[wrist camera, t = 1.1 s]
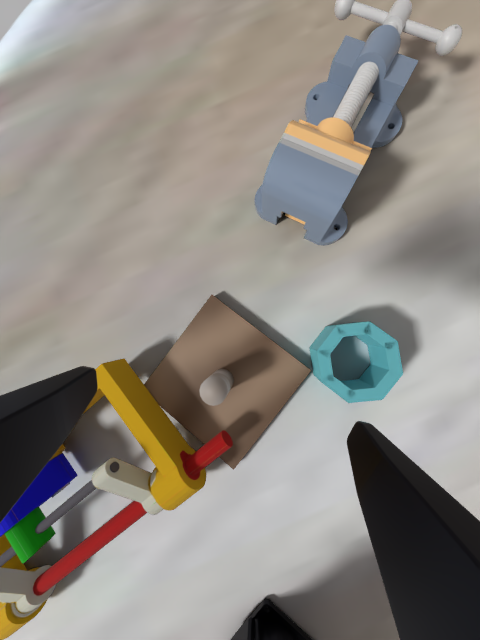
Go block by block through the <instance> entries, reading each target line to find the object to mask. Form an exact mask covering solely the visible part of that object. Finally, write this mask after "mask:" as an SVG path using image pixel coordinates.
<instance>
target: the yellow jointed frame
mask: <svg viewBox="0 0 480 640" xmlns="http://www.w3.org/2000/svg"><path fill="white" fill-rule="evenodd" d="M95 370H96V373H97V385H98V388H97V392H96V394H95V396H94V397H93V399H92V401H91V402H90V404H89V405H88V407H87V408H86V410H85V411H84V413H85V412H86V411H87V410H88V409H89V408H90V407H92V406H93V405H94V404H95V403H96V402H97V401H98V400H100V399H101V398H102V397H103V396H104V395H105V396H106V397H107V399H108V400H109V402H110V403H111V404H112V406H113V407H114V409H115V410H116V411H117V413H118V414H119V416H120V417H121V418H122V420H123V421H124V423H125V424H126V425H127V427H128V428H129V430H130V431H131V432H132V434H133V435H134V437H135V438H136V439H137V441H138V442H139V443H140V445H141V446H142V448H143V449H144V450H145V452H146V453H147V455H148V456H149V457H150V459H151V460H152V462H153V463H154V464H155V466H156V468H154V470H153V472H152V473H150V472H147V471H145V470H143V469H140V468H138V467H136V466H133V465H131V464H128V463H126V462H124V461H121V460H119V459H117V458H111V459H109V460H108V461H106V462H105V463H104V464H103V465H102V466H100V467H99V468H98V469H97V470H96V471H95V472H94V473H93V475H92V480H91V481H90V482H89V483H87V484H86V485H85V486H84V487H83V488H81V489H80V490H79V491H78V492H76V493H75V494H74V495H73V496H72V497H70V498H69V499H68V500H67V501H66V502H64V503H63V504H62V505H61V506H60V507H58V508H57V509H56V510H55V511H54V512H52V513H51V514H50V515H49V516H48V517H45V516H44V514H43V513H42V511H41V509H40V508H39V506H40V505H42V504H43V503H44V502H45V501H47V500H48V499H49V498H50V497H52V498H53V497H54V496H55V495H56V494H58V493H59V492H60V491H61V490H63V489H64V488H65V487H66V486H68V485H69V484H70V481H72V480H73V479H74V478H75V477H76V476H77V474H76V472H75V471H74V469H73V468H72V466H71V465H70V463H69V462H68V460H67V459H66V457H65V456H64V454H63V453H62V452H63V451H64V450H65V447H64V445H63V444H62V445H61V446H60V448H59V449H58V450H57V451H56V453H55V454H54V455H53V457H52V458H51V459H50V460H49V462H48V463H47V464H46V465H45V467H44V468H43V469H42V470H41V472H40V473H39V474H38V476H37V477H36V478H35V479H34V481H33V482H32V483H31V484H30V486H29V487H28V488H27V489H26V491H25V492H24V493H23V495H22V496H21V497H20V498H19V500H18V501H17V502H16V503H15V505H14V506H13V507H12V509H11V510H10V511H9V512H8V514H7V515H6V516H5V517H4V519H3V520H2V521H1V522H0V640H3V639H5V638H7V637H9V636H10V635H12V634H13V633H14V632H16V631H17V630H18V629H20V628H21V627H22V626H23V625H25V624H26V623H27V622H29V621H30V620H31V619H33V618H34V617H35V616H36V615H37V614H38V613H39V612H40V611H41V609H42V608H43V606H44V605H45V603H46V601H47V599H48V598H49V597H50V596H51V594H52V592H53V591H54V589H55V586H56V583H58V582H59V581H60V580H62V579H63V578H64V577H65V576H67V575H68V574H69V573H71V572H72V571H73V570H74V569H76V568H77V567H78V566H80V565H81V564H82V563H83V562H85V561H86V560H87V559H88V558H90V557H91V556H92V555H94V554H95V553H96V552H97V551H99V550H100V549H101V548H103V547H104V546H105V545H106V544H108V543H109V542H110V541H112V540H113V539H114V538H115V537H117V536H118V535H119V534H120V533H122V532H123V531H124V530H126V529H127V528H128V527H129V526H131V525H132V524H133V523H135V522H136V521H137V520H138V519H140V518H141V517H142V516H144V515H145V514H146V513H149V514H151V515H155V514H158V513H159V512H160V511H162V510H163V509H165V510H174V509H175V508H177V507H178V506H179V505H180V504H182V503H183V502H184V501H186V500H187V499H188V498H190V497H191V496H192V495H193V494H195V493H196V492H197V491H199V490H200V489H201V488H202V487H203V486H204V484H205V481H206V471H205V467H206V466H207V465H209V464H210V463H211V462H213V461H214V460H215V459H216V458H218V457H219V456H220V455H222V454H223V453H224V452H225V451H227V450H228V449H229V448H231V447H232V445H233V442H232V439H231V437H230V435H229V434H228V433H227V432H226V431H225V430H222V431H221V432H220V433H219V434H217V435H216V436H215V437H213V438H212V439H211V440H210V441H208V442H207V443H206V444H205V445H203V446H202V447H201V448H200V449H198V450H197V451H195V450H194V449H193V448H191V447H190V446H189V445H188V443H187V442H186V441H185V439H184V438H183V437H182V435H181V434H180V433H179V431H178V430H177V429H176V427H175V426H174V425H173V423H172V422H171V421H170V419H169V418H168V417H167V415H166V414H165V413H164V411H163V410H162V409H161V407H160V406H159V405H158V403H157V402H156V401H155V399H154V398H153V396H152V395H151V394H150V392H149V391H148V390H147V388H146V387H145V386H144V384H143V383H142V382H141V380H140V379H139V378H138V376H137V375H136V374H135V372H134V371H133V370H132V368H131V367H130V366H129V364H128V363H127V362H126V360H125V359H120V360H116V361H111V362H107V363H103V364H101V365H100V366H99V367H98V368H97V369H95ZM84 413H83V414H84ZM96 488H98V489H101V490H104V491H107V492H110V493H113V494H116V495H119V496H122V497H125V498H128V499H131V500H134V501H133V502H132V503H131V504H129V505H128V506H127V507H125V508H124V509H123V510H122V511H120V512H119V513H118V514H117V515H115V516H114V517H113V518H112V519H110V520H109V521H108V522H107V523H105V524H104V525H103V526H102V527H100V528H99V529H98V530H97V531H95V532H94V533H93V534H92V535H90V536H89V537H88V538H87V539H85V540H84V541H83V542H81V543H80V544H79V545H78V546H76V547H75V548H74V549H73V550H71V551H70V552H69V553H68V554H66V555H65V556H64V557H63V558H61V559H60V560H59V561H58V562H56V563H55V564H54V565H53V566H51V565H45V566H42V567H40V568H39V567H36V568H33V569H30V570H28V571H27V569H26V567H25V566H24V564H23V563H24V562H26V561H27V560H28V559H29V558H30V557H31V556H33V555H34V554H35V553H36V552H37V551H38V550H39V549H40V548H41V547H42V546H43V545H45V544H46V543H47V542H48V541H49V540H50V539H51V538H52V537H53V536H54V535H55V531H54V530H53V528H52V527H51V525H52V524H53V523H55V522H56V521H57V520H58V519H60V518H61V517H62V516H63V515H64V514H66V513H67V512H68V511H69V510H70V509H72V508H73V507H74V506H75V505H77V504H78V503H79V502H80V501H81V500H83V499H84V498H85V497H86V496H87V495H89V494H90V493H91V492H92V491H94V490H95V489H96Z"/></svg>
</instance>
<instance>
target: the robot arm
mask: <svg viewBox="0 0 480 640" xmlns="http://www.w3.org/2000/svg"><path fill="white" fill-rule="evenodd" d="M97 388H98V385H97V373H96V370H95V369H94V368H91V367H86V366H81V367H78V368H75V369H72V370H69V371H67V372H64V373H61V374H59V375H56V376H53V377H50V378H48V379H45V380H42V381H39V382H37V383H34V384H31V385H28V386H26V387H23V388H20V389H17V390H15V391H12V392H9V393H6V394H4V395H1V396H0V522H1V521H2V520H3V519H4V517H5V516H6V515H7V514H8V512H9V511H10V510H11V509H12V507H13V506H14V505H15V503H16V502H17V501H18V500H19V498H20V497H21V496H22V495H23V493H24V492H25V491H26V489H27V488H28V487H29V486H30V484H31V483H32V482H33V481H34V479H35V478H36V477H37V476H38V474H39V473H40V472H41V470H42V469H43V468H44V467H45V465H46V464H47V463H48V462H49V460H50V459H51V458H52V457H53V455H54V454H55V453H56V451H57V450H58V449H59V448H60V446H61V445H62V444H63V442H64V441H65V440H66V438H67V437H68V436H69V434H70V433H71V431H72V430H73V428H74V427H75V425H76V424H77V422H78V421H79V419H80V418H81V416H82V414H83V413H84V411H85V410H86V408H87V407H88V405H89V404H90V402H91V401H92V399H93V397H94V396H95V394H96V392H97ZM347 446H348V451H349V456H350V461H351V466H352V471H353V476H354V481H355V486H356V490H357V495H358V498H359V502H360V505H361V509H362V512H363V515H364V519H365V522H366V526H367V529H368V532H369V536H370V539H371V542H372V546H373V549H374V553H375V556H376V559H377V563H378V566H379V569H380V573H381V576H382V579H383V583H384V586H385V590H386V593H387V596H388V600H389V603H390V606H391V610H392V613H393V617H394V620H395V623H396V627H397V630H398V633H399V637H400V640H480V521H479V520H478V519H477V518H476V517H474V516H473V515H472V514H471V513H470V512H469V511H468V510H467V509H466V508H464V507H463V506H462V505H461V504H460V503H459V502H458V501H457V500H455V499H454V498H453V497H452V496H451V495H450V494H449V493H448V492H447V491H445V490H444V489H443V488H442V487H441V486H440V485H439V484H438V483H436V482H435V481H434V480H433V479H432V478H431V477H430V476H429V475H428V474H426V473H425V472H424V471H423V470H422V469H421V468H420V467H419V466H417V465H416V464H415V463H414V462H413V461H412V460H411V459H410V458H409V457H407V456H406V455H405V454H404V453H403V452H402V451H401V450H400V449H398V448H397V447H396V446H395V445H394V444H393V443H392V442H391V441H390V440H388V439H387V438H386V437H385V436H384V435H383V434H382V433H381V432H379V431H378V430H377V429H376V428H375V427H374V426H373V425H372V424H370V423H366V422H361V421H358V422H356V423H355V425H354V427H353V428H352V430H351V432H350V434H349V436H348V438H347ZM231 640H312V639H311V638H310V637H309V636H308V635H307V634H306V633H305V632H303V631H302V630H301V629H300V628H299V627H298V626H297V625H296V624H295V623H294V622H293V621H292V620H291V619H289V618H288V617H287V616H286V615H285V614H284V613H283V612H282V611H281V610H280V609H279V608H278V607H276V606H275V605H274V604H273V603H272V602H271V601H270V600H268V599H264V600H263V601H262V602H261V604H260V605H259V606H258V607H257V609H256V610H255V611H254V612H253V613H252V615H251V616H250V617H249V618H248V619H247V620H246V621H245V622H244V623H243V625H242V626H241V627H240V628H239V630H238V631H237V632H236V633H235V635H234V636H233V638H232V639H231Z"/></svg>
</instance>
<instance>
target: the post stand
mask: <svg viewBox="0 0 480 640" xmlns="http://www.w3.org/2000/svg"><path fill="white" fill-rule="evenodd" d="M310 371H311V370H310V369H309V368H308V367H306V366H305V365H304V364H302V363H301V362H300V361H298V360H297V359H296V358H294V357H293V356H292V355H291V354H289V353H288V352H287V351H285V350H284V349H283V348H281V347H280V346H279V345H277V344H276V343H275V342H274V341H272V340H271V339H270V338H268V337H267V336H266V335H264V334H263V333H262V332H260V331H259V330H258V329H257V328H255V327H254V326H253V325H251V324H250V323H249V322H247V321H246V320H245V319H243V318H242V317H241V316H240V315H238V314H237V313H236V312H234V311H233V310H232V309H230V308H229V307H228V306H226V305H225V304H224V303H223V302H221V301H220V300H219V299H217V298H216V297H215V296H213V295H211V296H210V298H209V299H208V300H207V302H206V303H205V304H204V306H203V307H202V308H201V310H200V311H199V312H198V314H197V315H196V316H195V318H194V319H193V320H192V322H191V323H190V324H189V326H188V327H187V328H186V330H185V331H184V332H183V334H182V335H181V336H180V338H179V339H178V340H177V341H176V343H175V344H174V345H173V347H172V348H171V349H170V351H169V352H168V353H167V355H166V356H165V357H164V359H163V360H162V361H161V363H160V364H159V365H158V367H157V368H156V369H155V371H154V372H153V373H152V375H151V376H150V377H149V379H148V380H147V381H146V383H145V384H144V386H145V387H146V388H147V390H148V391H149V392H150V394H151V395H152V396H153V398H154V399H155V401H156V402H157V403H158V405H160V406H161V407H162V408H163V409H164V410H165V411H166V412H168V413H169V414H170V415H171V416H172V417H173V418H175V419H176V420H177V421H178V422H179V423H180V424H182V425H183V426H184V427H185V428H186V429H187V430H188V431H190V432H191V433H192V434H193V435H194V436H195V437H197V438H198V439H199V440H200V441H201V442H202V443H203V444H206V443H207V442H208V441H210V440H211V439H212V438H213V437H215V436H216V435H217V434H219V433H220V432H221V431H222V430H225V431H226V432H227V433H228V434H229V435H230V437H231V439H232V442H233V445H232V447H231V448H229V449H228V450H227V451H225V452H224V453H223V454H222V455H220V456H219V457H220V458H221V459H222V460H223V461H224V462H225V463H227V464H228V465H229V466H230V467H231V468H232V469H233V470H234V468H235V467H236V466H237V465H238V463H239V462H240V461H241V460H242V458H243V457H244V456H245V454H246V453H247V452H248V451H249V449H250V448H251V447H252V445H253V444H254V443H255V442H256V440H257V439H258V438H259V437H260V435H261V434H262V433H263V431H264V430H265V429H266V428H267V426H268V425H269V424H270V422H271V421H272V420H273V419H274V417H275V416H276V415H277V414H278V412H279V411H280V410H281V408H282V407H283V406H284V405H285V403H286V402H287V401H288V399H289V398H290V397H291V396H292V394H293V393H294V392H295V391H296V389H297V388H298V387H299V385H300V384H301V383H302V382H303V380H304V379H305V378H306V376H307V375H308V374H309V373H310Z"/></svg>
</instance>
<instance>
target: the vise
mask: <svg viewBox="0 0 480 640" xmlns="http://www.w3.org/2000/svg"><path fill="white" fill-rule="evenodd" d="M411 12H412V4H411V1H410V0H397V1H396V2H395V3H394V4H393V5H392V7H391V9H390V11H389V12H386V11H383V10H380V9H377V8H374V7H371V6H368V5H366V4H363V3H360V2H357V1H355V0H336V4H335V15H336V17H337V18H338V19H339V20H344V19H346V18H347V17H348V16H349V15H350V14H353V15H356V16H359V17H362V18H365V19H368V20H370V21H373V22H376V23H379V24H382V26H379V27H377V28H376V29H375V30H374V31H372V33H371V34H370V35H369V37H368V38H367V40H366V42H363V41H361V40H358V39H355V38H352V37H349V36H345V38H344V40H343V42H342V44H341V46H340V48H339V50H338V51H337V53H336V55H335V57H334V59H333V61H332V65H331V69H330V73H329V77H328V81H327V82H323V83H320V84H318V85H316V86H315V87H314V88H313V89H312V90H311V91H310V92H309V94H308V96H307V99H306V105H305V114H306V117H307V121H303V120H301V119H300V120H299V122H297V121H294V120H292V121H291V122H290V123H289V124H288V126H287V128H286V130H285V132H284V134H283V136H282V138H281V139H280V141H279V143H278V145H277V147H276V149H275V151H274V153H273V155H272V157H271V160H270V162H269V165H268V167H267V170H266V173H265V177H264V181H263V184H262V185H261V186H260V188H259V189H258V190H257V193H256V195H255V208H256V211H257V213H258V215H259V216H260V217H261V218H262V219H264V220H266V221H269V222H271V223H273V224H275V225H276V224H277V222H278V220H279V218H281V216H282V214H283V212H284V213H286V214H285V216H287V217H289V218H291V219H293V220H296V221H298V222H300V223H302V224H304V229H306V230H307V232H306V234H305V236H304V238H305V239H307V240H309V241H311V242H313V243H316V244H318V245H329V244H332V243H334V242H336V241H337V240H338V239H339V238H340V237H341V236H342V235H343V234H344V232H345V230H346V228H347V224H348V219H347V215H346V213H345V211H344V209H343V208H342V205H343V203H344V201H345V199H346V197H347V196H348V194H349V192H350V190H351V188H352V187H353V185H354V183H355V181H356V179H357V177H358V175H359V174H360V172H361V170H362V168H363V166H364V164H365V162H366V160H367V159H368V157H369V155H370V153H371V149H372V148H376V147H382V146H385V145H387V144H388V143H390V142H391V141H392V140H393V139H394V137H395V136H396V135H397V133H398V132H399V130H400V128H401V125H402V115H401V112H400V110H399V109H398V108H397V106H396V101H397V99H398V97H399V96H400V94H401V92H402V90H403V89H404V87H405V85H406V83H407V81H408V79H409V78H410V76H411V74H412V72H413V70H414V68H415V66H416V65H417V63H418V60H416V59H413V58H410V57H407V56H404V55H401V54H398V51H399V48H400V41H401V40H400V34H401V33H402V32H405V33H408V34H410V35H413V36H416V37H419V38H422V39H425V40H428V41H430V42H433V43H436V46H435V50H436V53H437V54H438V55H440V56H443V55H446V54H448V53H450V52H451V51H452V50H453V49H454V48H455V47H456V45H457V44H458V42H459V40H460V39H461V36H462V28H461V26H460V25H458V24H453V25H451V26H449V27H447V28H446V29H445V30H444V31H442V30H439V29H436V28H433V27H430V26H427V25H424V24H421V23H418V22H415V21H412V20H409V18H410V15H411ZM369 92H371V93H374V95H373V98H372V100H371V101H370V103H369V105H368V107H367V109H366V111H365V113H364V115H363V116H362V118H361V120H360V122H359V124H358V126H357V128H356V130H355V131H354V133H353V131H352V129H351V126H352V124H353V122H354V120H355V119H356V117H357V115H358V113H359V111H360V109H361V107H362V105H363V104H364V102H365V100H366V98H367V96H368V94H369ZM334 227H337V228H338V230H334Z"/></svg>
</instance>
